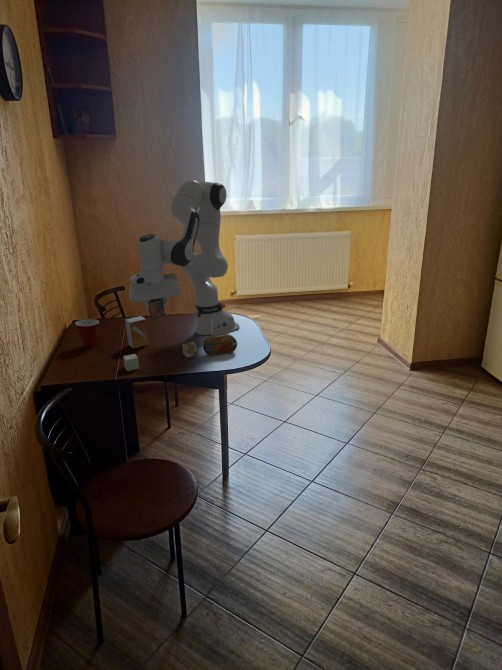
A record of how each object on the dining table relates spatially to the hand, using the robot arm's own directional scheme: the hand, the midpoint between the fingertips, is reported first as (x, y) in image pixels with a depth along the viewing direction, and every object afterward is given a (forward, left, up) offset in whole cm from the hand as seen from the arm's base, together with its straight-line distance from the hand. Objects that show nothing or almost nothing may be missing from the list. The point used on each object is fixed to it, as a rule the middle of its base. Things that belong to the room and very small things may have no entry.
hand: (156, 309), depth 192 cm
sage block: (+13, -2, -24) cm, 27 cm away
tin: (-25, +4, -24) cm, 35 cm away
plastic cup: (+24, -40, -24) cm, 53 cm away
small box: (+4, -27, -24) cm, 36 cm away
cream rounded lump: (-13, -2, -24) cm, 27 cm away
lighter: (0, 0, -4) cm, 4 cm away
